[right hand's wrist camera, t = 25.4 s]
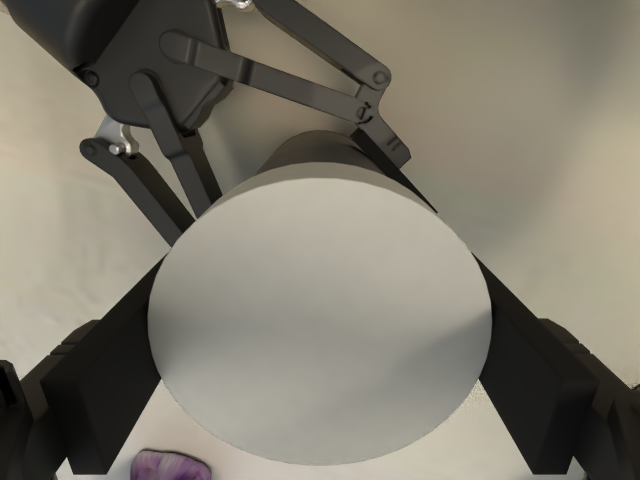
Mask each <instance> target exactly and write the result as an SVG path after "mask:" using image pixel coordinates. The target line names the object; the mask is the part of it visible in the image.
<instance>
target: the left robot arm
mask: <svg viewBox="0 0 640 480" xmlns="http://www.w3.org/2000/svg"><path fill="white" fill-rule="evenodd" d="M227 5H232V6H234V7H236V8H237V9H238V10H239V11H241V12H243V13H249V12H251V11H252V10H254V9H255V8H257V9H258V11H259V12H260V13H261V14H262V15H263V16H264V17H265V18H266V19H268V20H269V21H270V22H272V23H273V24H274V25H276V26H277V27H279V28H280V29H281V30H283V31H284V32H286V33H287V34H288V35H290V36H291V37H293V38H294V39H296V40H297V41H298V42H300V43H301V44H303V45H304V46H306V47H307V48H308V49H310V50H311V51H313V52H314V53H316V54H317V55H318V56H320V57H321V58H323V59H324V60H326V61H327V62H328V63H330V64H331V65H333V66H334V67H336V68H337V69H338V70H340V71H341V72H343V73H344V74H345V75H347V76H348V77H350V78H351V79H353V80H354V81H355V82H357V83H358V84H360V87H359V89H358V91H357V93H356V96H355V97H352V96H349V95H347V94H344V93H341V92H338V91H336V90H333V89H330V88H327V87H324V86H322V85H319V84H316V83H313V82H311V81H308V80H305V79H302V78H300V77H297V76H294V75H291V74H288V73H286V72H283V71H280V70H277V69H275V68H272V67H269V66H266V65H264V64H261V63H258V62H255V61H253V60H250V59H248V58H245V57H243V56H240V55H237V54H234V53H232V52H230V47H229V43H228V38H227V34H226V29H225V24H224V20H223V15H222V11H221V8H223V7H224V6H227ZM0 10H1V11H2V12H4V13H6V14H8V15H11V17H12V19H13V20H14V21H15V23H16V24H17V25H18V26H19V27H20V28H21V29H22V30H23V31H24V32H26V33H27V34H28V35H29V36H30V37H31V38H32V39H33V40H35V41H36V42H37V43H38V44H39V45H40V46H41V47H42V48H44V49H45V50H46V51H47V52H48V53H49V54H50V55H52V56H53V57H54V58H55V59H56V60H57V61H58V62H59V63H61V64H62V65H63V66H64V67H65V68H66V69H67V70H68V71H70V72H71V73H72V74H73V75H74V76H75V77H77V78H78V79H79V80H81V81H82V82H83V83H84V84H86V85H87V86H88V87H90V88H91V89H92V90H93V91H94V93H95V94H96V95H97V97H98V98H99V100H100V102H101V104H102V106H103V109H104V110H105V112H106V113H107V115H106V117H105V119H104V121H103V122H102V124H101V126H100V128H99V130H98V131H97V133H96V135H95V137H94V138H88V139H85V140H83V141H82V142H81V143H80V146H79V148H80V152H81V154H82V155H83V156H84V157H85V158H86V159H87V160H89V161H90V162H92V163H93V164H95V165H96V166H98V167H99V168H101V169H102V170H103V171H105V172H106V173H108V174H109V175H111V176H112V177H113V178H114V179H115V180H116V181H117V182H118V184H119V185H120V186H121V187H122V188H123V190H124V191H125V192H126V193H127V194H128V196H129V197H130V198H131V199H132V201H133V202H134V203H135V204H136V205H137V207H138V208H139V209H140V210H141V211H142V213H143V214H144V215H145V216H146V217H147V219H148V220H149V221H150V222H151V224H152V225H153V226H154V227H155V228H156V230H157V231H158V232H159V233H160V234H161V236H162V237H163V238H164V239H165V240H166V242H167V243H168V244H169V245H170V247H171V248H172V247H173V245H174V244H175V243H176V241H177V240H178V239H179V238H180V237H181V235H182V234H183V233H184V232H185V231H186V230H187V229H188V228H189V227H190V226H191V225H192V224H193V223H194V222H195V219H194V218H193V217H192V215H191V214H190V213H189V212H188V210H187V209H186V208H185V206H184V205H183V204H182V202H181V201H180V200H179V199H178V197H177V196H176V195H175V193H174V192H173V191H172V190H171V188H170V187H169V186H168V184H167V183H166V182H165V181H164V179H163V178H162V177H161V175H160V174H159V173H158V172H157V170H156V169H155V168H154V166H153V165H152V164H151V163H150V162H149V161H148V160H147V159H146V158H145V157H144V156H143V155H142V154H141V153H140V152H138V150H139V143H138V142H137V141H136V140H135V139H134V138H133V137H132V135H131V133H130V126H136V127H142V128H148V129H151V130H152V132H153V135H154V137H155V139H156V141H157V143H158V145H159V147H160V149H161V151H162V153H163V155H164V156H165V157H166V158H167V159H169V160H170V162H171V164H172V166H173V168H174V170H175V172H176V174H177V177H178V179H179V181H180V183H181V185H182V187H183V189H184V192H185V194H186V196H187V198H188V200H189V202H190V204H191V207H192V209H193V211H194V213H195V215H196V217H197V219H198V218H199V217H200V216H201V215H202V214H203V213H204V212H205V211H206V210H207V209H209V208H210V207H211V206H212V205H213V204H214V203H215V202H216V201H217V200H218V199H219V198H220V197H222V196H223V195H222V192H221V190H220V188H219V185H218V183H217V181H216V178H215V176H214V174H213V171H212V169H211V167H210V164H209V162H208V160H207V157H206V155H205V153H204V150H203V142H202V139H201V136H200V134H199V132H198V129H197V128H199V127H201V126H202V125H203V124H204V122H205V121H206V120H207V119H208V118H209V115H210V113H211V111H212V109H213V106H214V105H215V104H217V103H218V102H220V101H221V100H223V99H224V98H226V97H227V95H228V94H229V93H230V92H231V91H232V89H233V87H232V85H233V82H234V81H236V82H239V83H242V84H245V85H248V86H251V87H254V88H257V89H260V90H263V91H266V92H268V93H271V94H274V95H277V96H280V97H283V98H285V99H288V100H291V101H294V102H297V103H300V104H302V105H305V106H308V107H311V108H314V109H317V110H319V111H322V112H325V113H328V114H331V115H334V116H336V117H339V118H342V119H345V120H348V121H351V122H353V123H355V124H356V125H357V126H358V128H357V129H356V130H355V131H354V132H353V133H352V134H351V135H350V137H351V138H352V139H353V140H354V142H355V143H356V144H357V145H358V146H359V147H360V148H361V149H362V150H363V151H364V152H365V153H366V155H367V156H368V157H369V158H370V159H371V160H372V161H373V162H374V163H375V164H376V165H377V166H378V167H379V169H380V170H381V171H382V172H383V173H384V174H385V175H386V176H387V177H388V178H390V179H392V180H395V181H396V182H398V183H399V184H401V185H403V186H404V187H406V188H407V189H409V190H410V191H412V192H413V193H414V194H415V195H417V196H418V197H419V198H420V199H421V200H423V201H424V202H425V203H426V204H427V205H428V206H429V207H430V208H431V209H432V210H433V211H434V212H435V213H436V214H437V213H438V212H437V211H436V210H435V209H434V207H433V206H432V205H431V204H430V203H429V202H428V201H427V200H426V199H425V198H424V196H423V195H422V194H421V193H420V192H419V191H418V190H417V189H416V188H415V186H414V185H413V184H412V183H411V182H410V181H409V180H408V179H407V178H406V177H405V175H404V174H403V173H402V172H401V171H400V170H399V169H400V168H401V167H402V166H403V165H404V164H405V163H406V162H407V161H408V160H409V159H410V158H411V155H410V152H409V149H408V148H407V147H406V145H405V144H404V143H403V142H402V141H401V140H400V139H399V137H398V136H397V135H396V134H395V133H394V132H393V131H392V129H391V128H390V127H389V126H388V125H387V124H386V123H385V121H384V120H383V119H382V118H381V116H380V115H379V112H378V104H379V102H380V99H381V97H382V95H383V93H384V91H385V89H386V87H387V86H388V85H389V84H390V81H391V73H390V70H389V69H388V68H387V67H386V66H385V65H383V64H382V63H380V62H379V61H378V60H376V59H375V58H374V57H372V56H371V55H369V54H368V53H367V52H365V51H364V50H362V49H361V48H360V47H358V46H357V45H356V44H354V43H353V42H351V41H350V40H349V39H347V38H346V37H345V36H343V35H342V34H340V33H339V32H338V31H336V30H335V29H334V28H332V27H331V26H329V25H328V24H327V23H325V22H324V21H323V20H321V19H320V18H318V17H317V16H316V15H314V14H313V13H312V12H310V11H309V10H307V9H306V8H305V7H303V6H302V5H301V4H299V3H298V2H296V1H295V0H0Z"/></svg>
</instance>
